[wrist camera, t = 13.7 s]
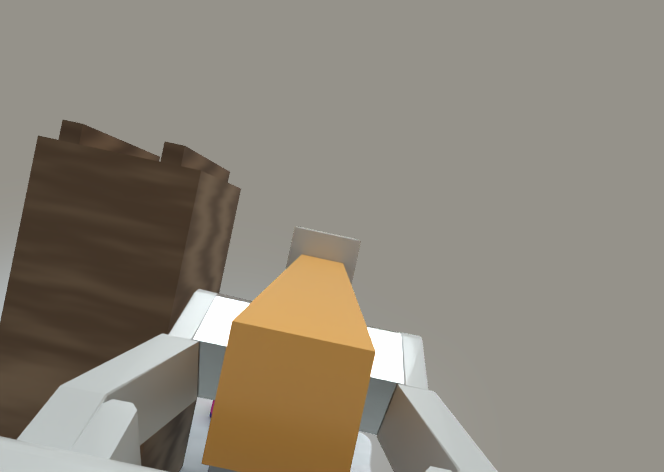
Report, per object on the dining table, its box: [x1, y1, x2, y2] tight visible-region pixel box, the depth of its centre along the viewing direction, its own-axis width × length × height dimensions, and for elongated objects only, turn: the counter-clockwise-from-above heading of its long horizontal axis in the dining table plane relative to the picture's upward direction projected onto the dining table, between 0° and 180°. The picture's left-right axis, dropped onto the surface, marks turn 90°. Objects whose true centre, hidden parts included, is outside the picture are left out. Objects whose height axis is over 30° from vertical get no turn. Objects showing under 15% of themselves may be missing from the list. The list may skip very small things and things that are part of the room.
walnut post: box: [0, 120, 241, 472], centre depth 38 cm, size 14×12×32 cm
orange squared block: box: [202, 227, 376, 472], centre depth 18 cm, size 22×4×4 cm, turn 0°
